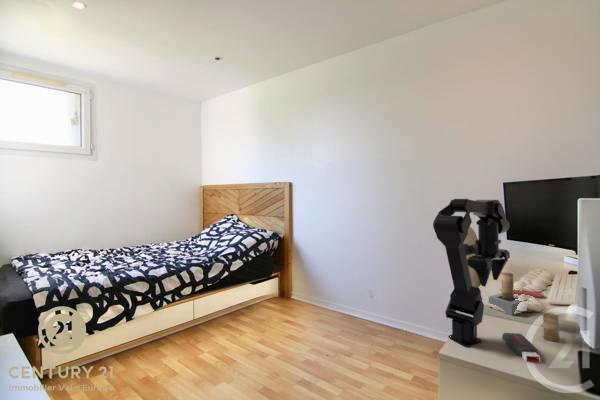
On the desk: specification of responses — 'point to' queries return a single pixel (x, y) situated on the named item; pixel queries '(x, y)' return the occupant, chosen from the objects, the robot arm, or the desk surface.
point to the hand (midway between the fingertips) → (489, 282)
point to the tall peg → (507, 287)
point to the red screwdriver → (528, 293)
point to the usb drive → (521, 346)
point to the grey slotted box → (505, 303)
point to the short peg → (551, 327)
